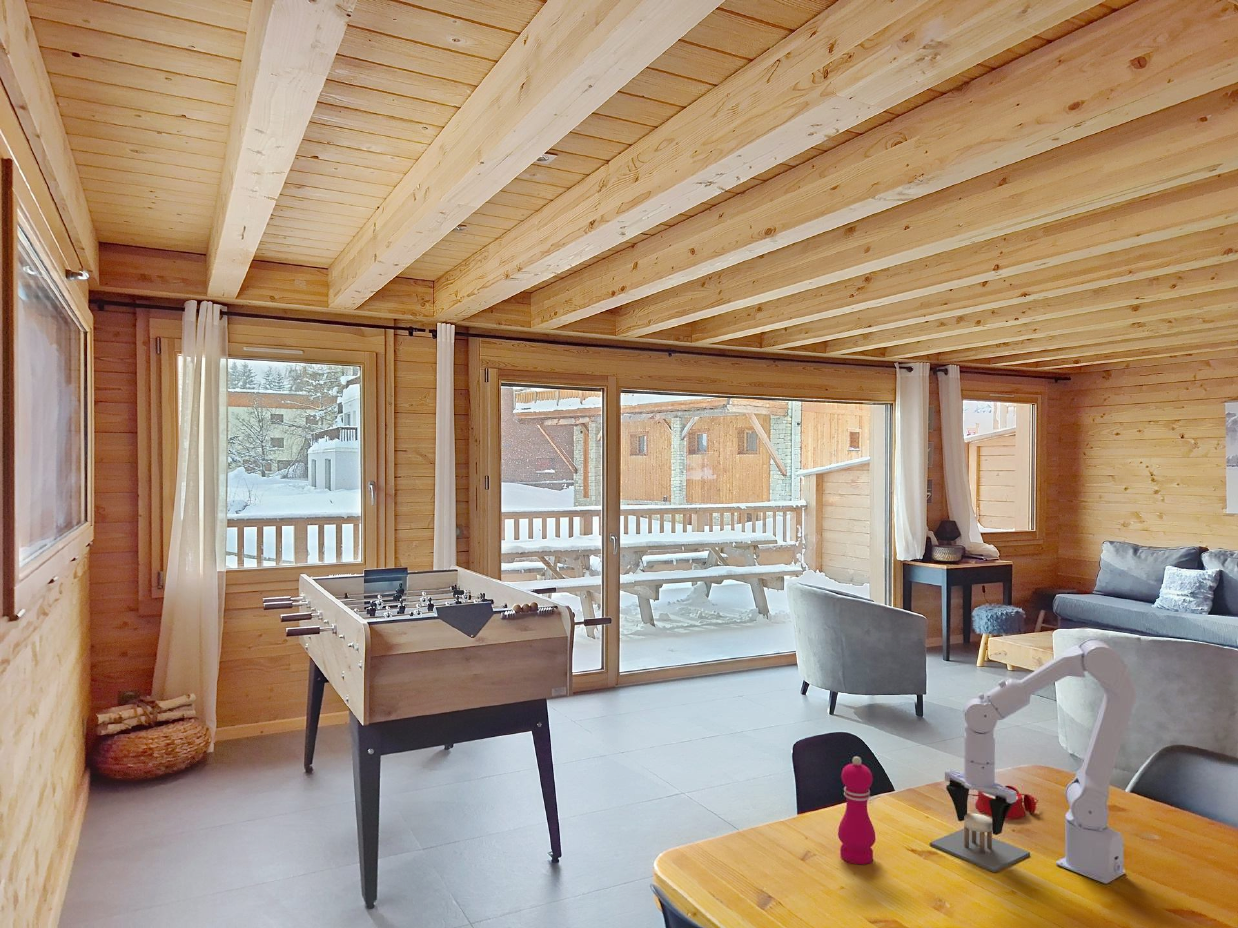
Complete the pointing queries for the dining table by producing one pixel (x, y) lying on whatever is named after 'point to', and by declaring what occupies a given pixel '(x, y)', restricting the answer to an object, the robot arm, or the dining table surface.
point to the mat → (989, 860)
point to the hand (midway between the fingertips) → (979, 826)
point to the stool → (978, 830)
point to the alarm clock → (1015, 810)
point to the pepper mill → (856, 815)
